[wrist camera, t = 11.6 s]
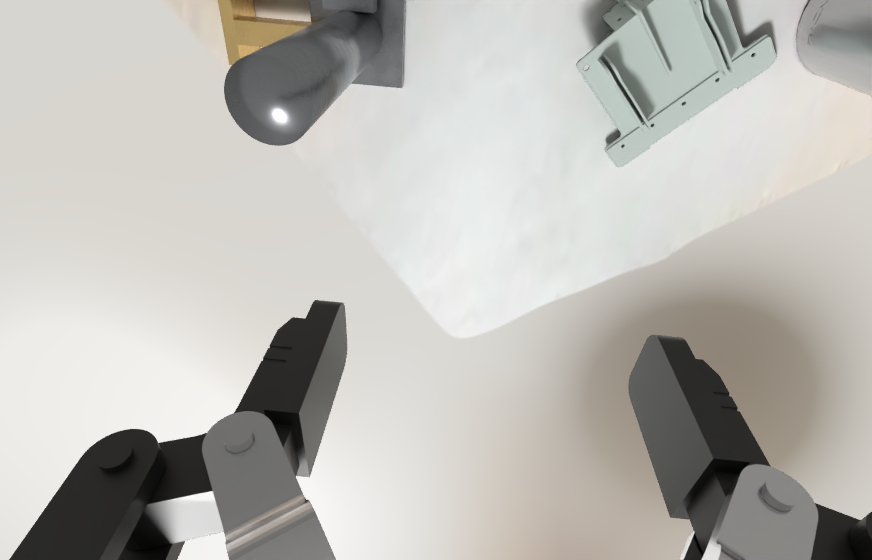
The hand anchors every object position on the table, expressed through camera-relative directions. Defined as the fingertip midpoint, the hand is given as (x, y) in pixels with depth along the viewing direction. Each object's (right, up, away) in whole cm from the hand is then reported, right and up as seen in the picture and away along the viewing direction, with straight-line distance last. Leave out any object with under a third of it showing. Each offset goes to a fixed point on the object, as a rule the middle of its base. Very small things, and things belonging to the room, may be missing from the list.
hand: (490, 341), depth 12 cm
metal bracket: (+18, +21, +29) cm, 40 cm away
